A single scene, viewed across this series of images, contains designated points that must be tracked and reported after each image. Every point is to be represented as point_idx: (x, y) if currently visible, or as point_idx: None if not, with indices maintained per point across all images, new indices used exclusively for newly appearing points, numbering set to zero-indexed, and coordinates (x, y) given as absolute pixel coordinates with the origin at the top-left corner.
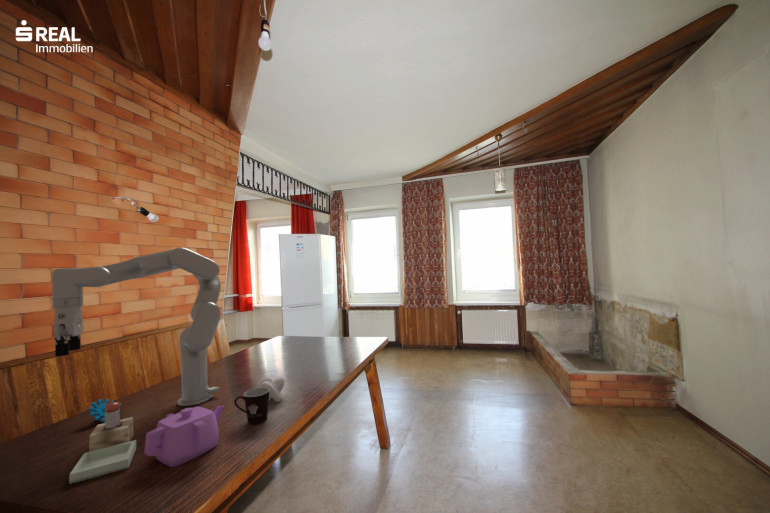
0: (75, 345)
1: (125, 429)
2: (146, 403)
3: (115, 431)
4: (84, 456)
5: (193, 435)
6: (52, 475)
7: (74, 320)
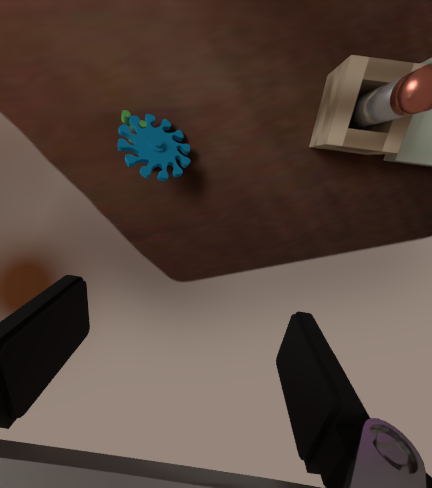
0: (61, 321)
1: None
2: (92, 48)
3: None
4: (415, 157)
5: None
6: (390, 200)
7: None
